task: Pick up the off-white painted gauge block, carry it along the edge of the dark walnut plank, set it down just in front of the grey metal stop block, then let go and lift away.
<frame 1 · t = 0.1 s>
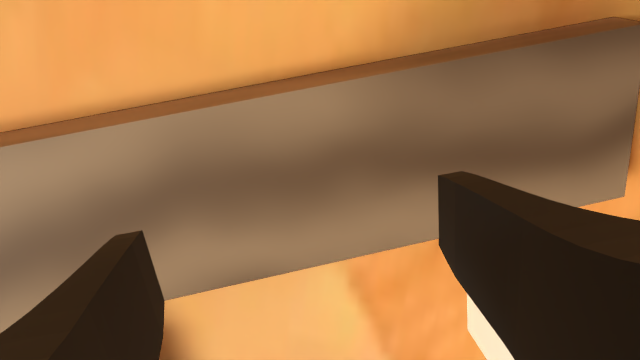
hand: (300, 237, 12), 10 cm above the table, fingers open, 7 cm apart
walnut plank: (294, 168, 22), on the table
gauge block: (518, 289, 28), on the table
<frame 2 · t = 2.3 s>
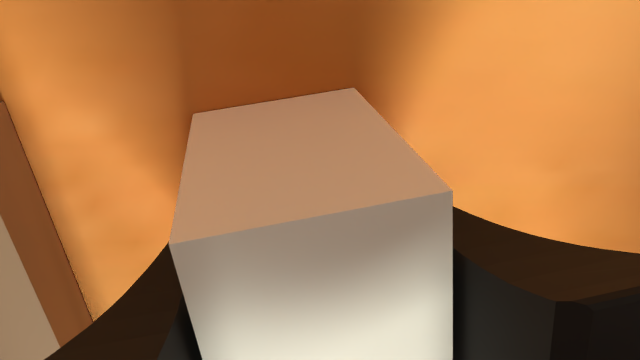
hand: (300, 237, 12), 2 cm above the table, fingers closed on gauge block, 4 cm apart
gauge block: (291, 206, 14), on the table, touching gripper
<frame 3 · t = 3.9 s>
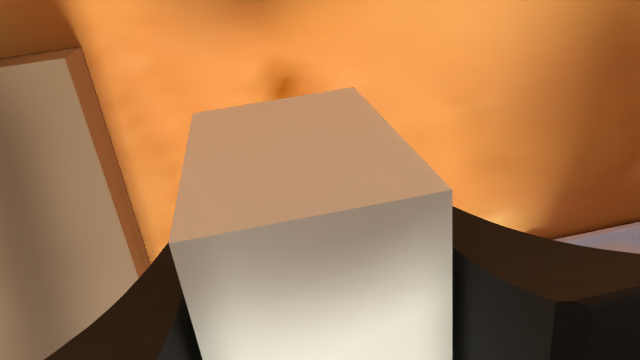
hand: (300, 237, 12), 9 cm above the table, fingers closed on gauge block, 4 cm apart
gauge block: (291, 206, 14), point 7 cm above the table, touching gripper
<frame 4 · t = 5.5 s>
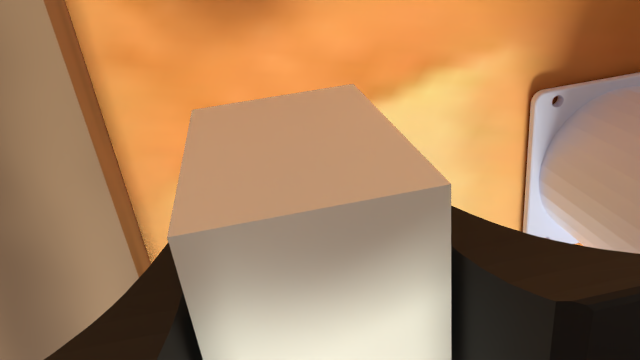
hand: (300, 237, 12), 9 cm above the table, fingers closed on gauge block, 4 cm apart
walnut plank: (38, 248, 20), on the table
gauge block: (291, 203, 14), point 7 cm above the table, touching gripper
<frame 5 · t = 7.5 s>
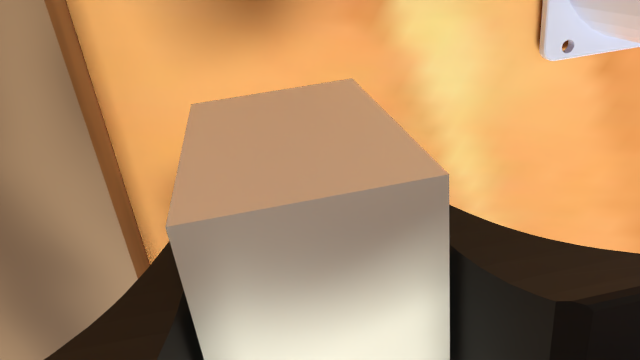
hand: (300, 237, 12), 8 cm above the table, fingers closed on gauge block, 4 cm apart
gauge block: (290, 198, 14), point 7 cm above the table, touching gripper
when the fingers open (3 cm above the table, at t = 9.1 s): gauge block stays where it is, on the table.
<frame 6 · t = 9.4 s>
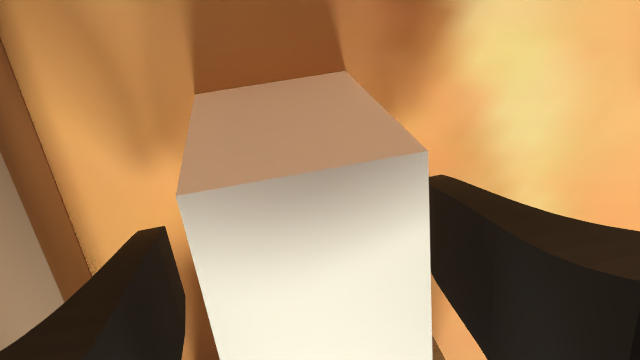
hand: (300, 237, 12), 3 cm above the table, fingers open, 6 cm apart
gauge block: (287, 183, 14), on the table
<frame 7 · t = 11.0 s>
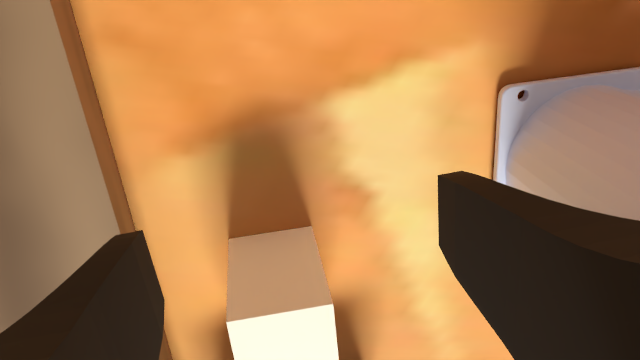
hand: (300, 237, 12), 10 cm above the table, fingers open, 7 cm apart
walnut plank: (32, 213, 22), on the table
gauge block: (278, 282, 25), on the table
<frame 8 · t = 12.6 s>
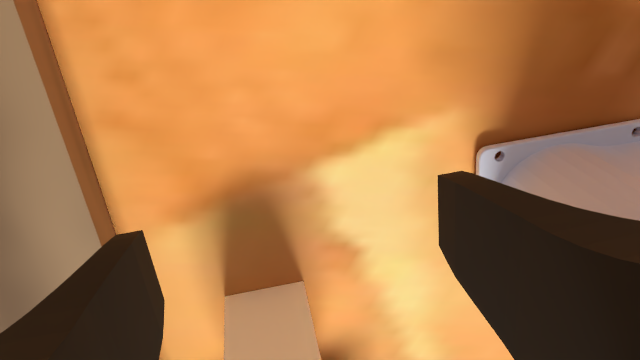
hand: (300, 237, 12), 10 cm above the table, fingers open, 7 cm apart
walnut plank: (37, 282, 23), on the table
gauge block: (273, 333, 26), on the table
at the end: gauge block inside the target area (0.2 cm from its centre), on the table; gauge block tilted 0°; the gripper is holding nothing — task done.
